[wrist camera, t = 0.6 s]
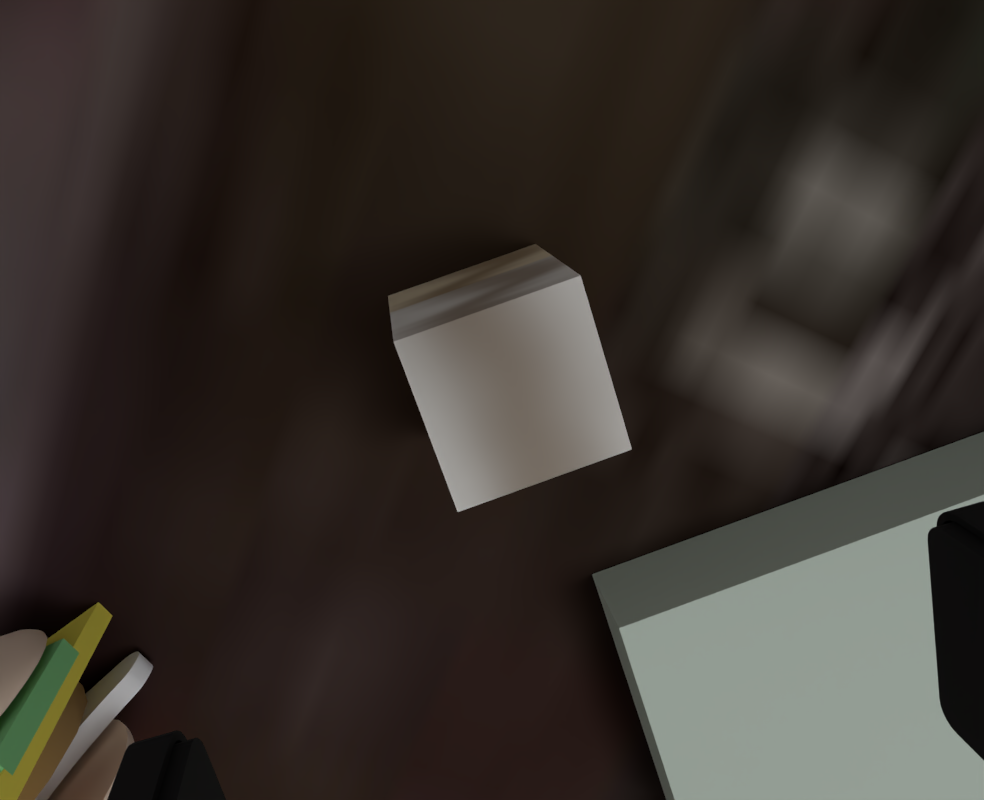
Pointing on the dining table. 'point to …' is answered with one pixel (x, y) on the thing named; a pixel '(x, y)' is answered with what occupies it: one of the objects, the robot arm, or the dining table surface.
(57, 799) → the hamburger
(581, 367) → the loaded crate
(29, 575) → the dining table surface
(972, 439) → the dock
